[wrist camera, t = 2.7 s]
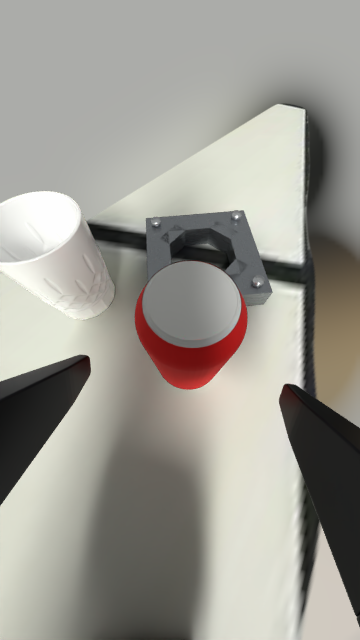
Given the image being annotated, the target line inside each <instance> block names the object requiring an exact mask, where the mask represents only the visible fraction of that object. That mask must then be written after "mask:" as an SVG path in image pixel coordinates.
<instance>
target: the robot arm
mask: <svg viewBox="0 0 360 640" xmlns="http://www.w3.org/2000/svg"><path fill="white" fill-rule="evenodd" d="M90 373H91V367H90V358H89V356H86V355H77V356H74V357H72V358H69V359H66V360H63V361H60V362H57V363H54V364H51V365H48V366H45V367H42V368H39V369H36V370H33V371H30V372H27V373H24V374H21V375H18V376H16V377H13V378H10V379H7V380H4V381H1V382H0V505H1V504H2V503H3V501H4V500H5V498H6V497H7V496H8V494H9V493H10V492H11V490H12V489H13V487H14V486H15V485H16V483H17V482H18V480H19V479H20V478H21V476H22V475H23V473H24V472H25V471H26V469H27V468H28V466H29V465H30V464H31V462H32V461H33V459H34V458H35V457H36V455H37V454H38V452H39V451H40V450H41V448H42V447H43V445H44V444H45V443H46V441H47V440H48V438H49V437H50V436H51V434H52V433H53V431H54V430H55V429H56V427H57V426H58V425H59V423H60V422H61V420H62V419H63V418H64V416H65V415H66V413H67V412H68V411H69V409H70V408H71V406H72V405H73V403H74V402H75V400H76V398H77V397H78V395H79V393H80V391H81V390H82V388H83V386H84V385H85V383H86V381H87V379H88V378H89V376H90ZM279 404H280V408H281V412H282V416H283V419H284V423H285V427H286V431H287V434H288V438H289V441H290V443H291V446H292V449H293V451H294V454H295V457H296V459H297V462H298V465H299V467H300V470H301V473H302V475H303V478H304V481H305V483H306V486H307V488H308V491H309V494H310V496H311V499H312V502H313V504H314V507H315V510H316V512H317V515H318V518H319V520H320V523H321V526H322V528H323V531H324V533H325V536H326V539H327V541H328V544H329V547H330V549H331V552H332V555H333V557H334V560H335V562H336V565H337V568H338V570H339V573H340V576H341V578H342V581H343V584H344V586H345V589H346V592H347V594H348V597H349V600H350V602H351V605H352V607H353V610H354V613H355V615H356V616H357V621H358V624H359V627H360V428H359V427H357V426H356V425H354V424H353V423H351V422H350V421H348V420H347V419H345V418H344V417H342V416H341V415H340V414H338V413H336V412H335V411H333V410H332V409H331V408H329V407H328V406H326V405H325V404H323V403H322V402H320V401H319V400H317V399H316V398H314V397H313V396H311V395H310V394H308V393H307V392H305V391H304V390H302V389H301V388H299V387H298V386H296V385H294V384H285V385H284V386H283V389H282V392H281V395H280V398H279Z"/></svg>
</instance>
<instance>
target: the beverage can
mask: <svg viewBox="0 0 360 640" xmlns="http://www.w3.org/2000/svg"><path fill="white" fill-rule="evenodd" d="M135 325H136V330H137V334H138V337H139V339H140V341H141V343H142V345H143V346H144V348H145V350H146V351H147V353H148V354H149V356H150V357H151V359H152V361H153V362H154V364H155V365H156V367H157V368H158V370H159V371H160V373H161V375H162V376H163V377H164V379H165V380H166V381H167V382H169V383H170V384H171V385H173V386H175V387H177V388H181V389H196V388H199V387H202V386H204V385H205V384H207V383H208V382H209V381H210V380H211V379H212V378H213V377H214V376H215V375H216V374H217V372H218V371H219V370H220V369H221V368H222V367H223V366H224V364H225V363H226V362H227V361H228V360H229V359H230V358H231V356H232V355H233V354H234V353H235V352H236V350H237V349H238V348H239V346H240V344H241V343H242V341H243V338H244V336H245V332H246V328H247V309H246V304H245V301H244V298H243V296H242V294H241V292H240V290H239V289H238V287H237V285H236V283H235V282H234V281H233V279H232V278H231V277H230V276H229V275H228V274H227V273H226V272H224V271H223V270H222V269H220V268H218V267H217V266H215V265H212V264H210V263H206V262H202V261H195V260H187V261H180V262H175V263H172V264H170V265H167V266H165V267H164V268H162V269H160V270H159V271H158V272H157V273H155V274H154V275H153V276H152V278H151V279H150V280H149V281H148V283H147V284H146V286H145V287H144V288H143V290H142V292H141V293H140V296H139V298H138V301H137V304H136V309H135Z"/></svg>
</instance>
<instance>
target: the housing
mask: <svg viewBox="0 0 360 640" xmlns="http://www.w3.org/2000/svg"><path fill="white" fill-rule="evenodd" d="M146 236H147V272H148V281H149V280H150V279H151V278H152V276H153V275H154V274H155V273H157V272H158V271H159V270H160V269H162V268H164V267H165V266H167V265H170V264H171V258H172V257H173V256H174V255H175V254H177V253H178V252H179V251H180V250H181V249H182V248H183V247H184V246H185V245H195V244H206V243H208V244H210V245H212V246H213V247H215V248H217V249H219V250H220V251H222V252H224V253H226V254H227V257H228V261H229V265H230V266H229V267H228V268H227V269H226V270H225V271H224V272H226V273H227V274H228V275H229V276H230V277H231V278H232V279H233V281H234V282H235V283H236V285H237V287H238V289H239V290H240V292H241V294H242V296H243V298H244V301H245V304H246V306H250V305H261V304H264V303H265V302H266V300H267V299H268V298H269V296H270V295H271V294H272V289H271V287H270V284H269V281H268V278H267V275H266V273H265V270H264V267H263V264H262V261H261V258H260V256H259V253H258V250H257V247H256V244H255V241H254V239H253V236H252V233H251V230H250V227H249V225H248V222H247V219H246V216H245V213H244V210H242V211H238V210H236V211H230V212H218V213H206V214H193V215H181V216H169V217H153V218H146Z"/></svg>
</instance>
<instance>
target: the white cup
mask: <svg viewBox="0 0 360 640" xmlns="http://www.w3.org/2000/svg"><path fill="white" fill-rule="evenodd" d="M0 272H1V273H3V274H4V275H6V276H7V277H9V278H10V279H12V280H13V281H15V282H16V283H18V284H19V285H20V286H22V287H23V288H25V289H26V290H27V291H29V292H30V293H32V294H34V295H35V296H37V297H38V298H39V299H41V300H43V301H44V302H46V303H47V304H49V305H50V306H53V307H55V308H57V309H58V310H60V311H61V312H63V313H64V314H66V315H67V316H68V317H70V318H73V319H81V320H85V319H89V318H92V317H96V316H98V315H99V314H101V313H102V312H103V311H105V310H106V309H107V308H108V307H109V306H110V304H111V302H112V301H113V299H114V293H115V286H114V284H113V282H112V280H111V278H110V276H109V273H108V270H107V267H106V264H105V262H104V259H103V257H102V255H101V253H100V250H99V248H98V246H97V244H96V242H95V239H94V237H93V235H92V233H91V231H90V229H89V227H88V224H87V222H86V220H85V218H84V216H83V214H82V211H81V209H80V207H79V205H78V204H77V202H76V201H74V200H73V199H72V198H70V197H69V196H67V195H65V194H62V193H58V192H52V191H38V192H30V193H26V194H22V195H18V196H15V197H13V198H10V199H8V200H6V201H4V202H2V203H0Z"/></svg>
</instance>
